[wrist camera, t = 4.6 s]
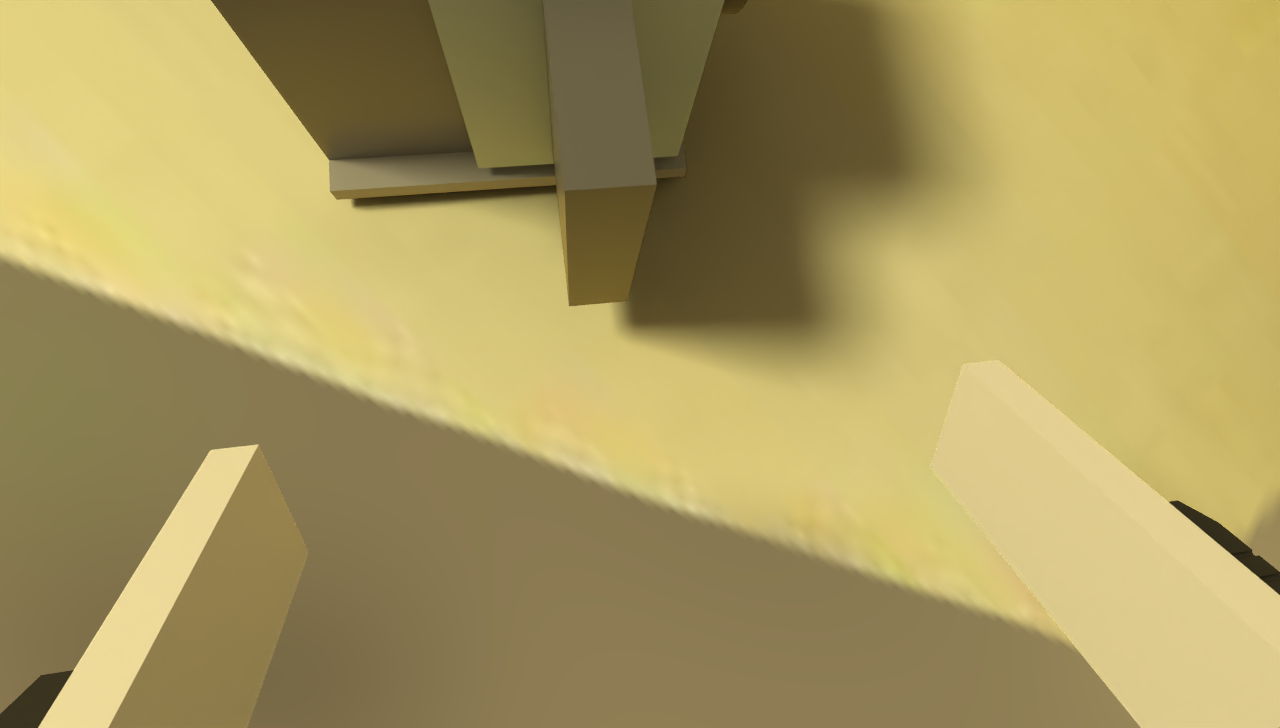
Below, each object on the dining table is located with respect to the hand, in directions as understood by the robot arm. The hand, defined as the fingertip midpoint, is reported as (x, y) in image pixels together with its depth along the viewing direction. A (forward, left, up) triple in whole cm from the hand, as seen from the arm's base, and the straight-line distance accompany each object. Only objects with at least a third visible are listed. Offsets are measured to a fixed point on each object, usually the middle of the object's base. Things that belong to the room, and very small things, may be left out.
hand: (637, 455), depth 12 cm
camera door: (+10, -5, -14) cm, 17 cm away
